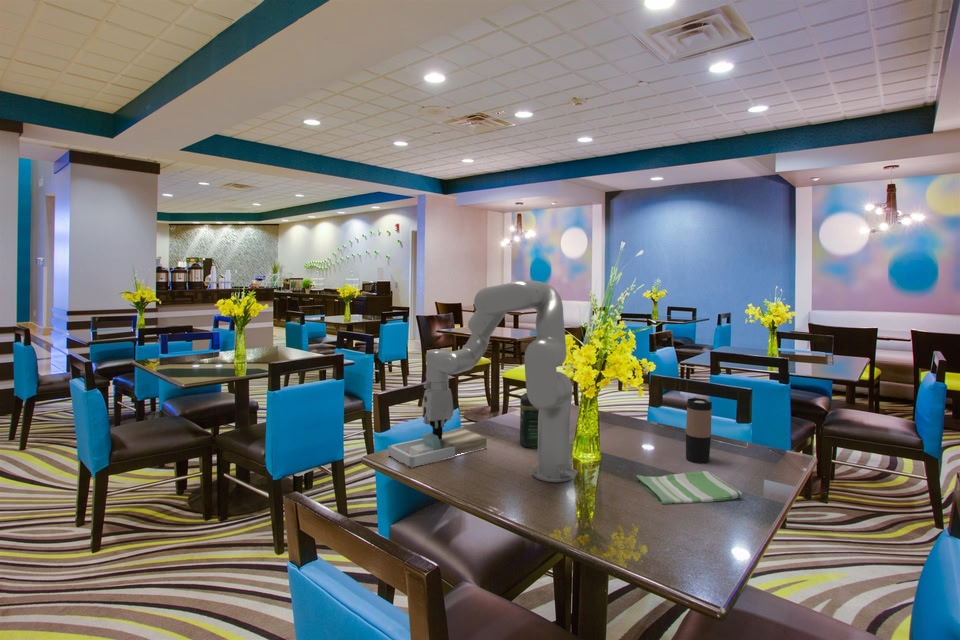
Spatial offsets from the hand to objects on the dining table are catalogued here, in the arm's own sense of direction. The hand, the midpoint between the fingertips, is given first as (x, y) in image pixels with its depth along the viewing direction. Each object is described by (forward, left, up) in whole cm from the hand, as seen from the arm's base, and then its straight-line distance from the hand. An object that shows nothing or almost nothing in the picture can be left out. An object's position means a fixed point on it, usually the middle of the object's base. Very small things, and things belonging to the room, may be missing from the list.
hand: (437, 438), depth 179 cm
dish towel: (-70, -38, -6) cm, 80 cm away
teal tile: (0, +1, -1) cm, 1 cm away
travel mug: (-59, -64, -5) cm, 87 cm away
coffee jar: (-13, -32, -5) cm, 35 cm away
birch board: (0, -9, -5) cm, 10 cm away
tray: (0, +6, -5) cm, 8 cm away
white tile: (0, +6, -2) cm, 7 cm away
